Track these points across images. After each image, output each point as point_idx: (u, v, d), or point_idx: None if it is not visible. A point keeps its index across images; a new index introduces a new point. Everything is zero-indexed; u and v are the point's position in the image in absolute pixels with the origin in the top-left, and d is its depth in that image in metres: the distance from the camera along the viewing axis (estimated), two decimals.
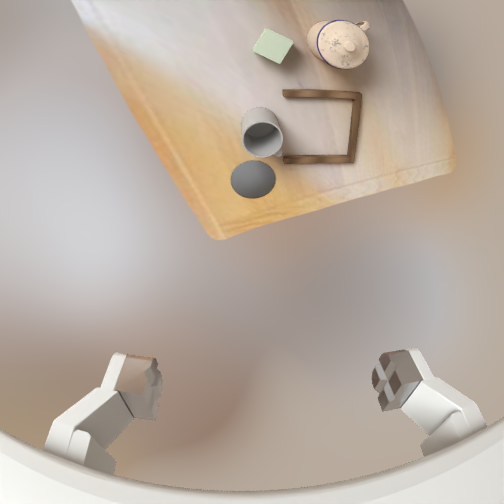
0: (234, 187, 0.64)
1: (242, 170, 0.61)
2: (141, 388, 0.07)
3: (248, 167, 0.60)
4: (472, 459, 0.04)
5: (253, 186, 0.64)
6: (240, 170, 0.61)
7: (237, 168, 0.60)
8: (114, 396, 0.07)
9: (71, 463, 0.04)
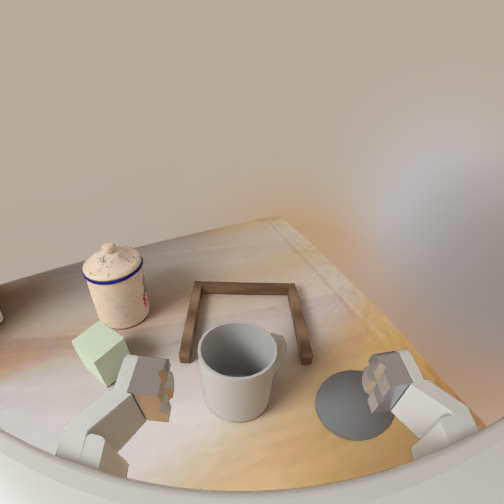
0: (379, 430, 0.24)
1: (339, 422, 0.25)
2: (155, 390, 0.07)
3: (333, 412, 0.27)
4: (472, 459, 0.04)
5: None
6: (341, 425, 0.25)
7: (337, 430, 0.24)
8: (127, 399, 0.07)
9: (71, 463, 0.04)
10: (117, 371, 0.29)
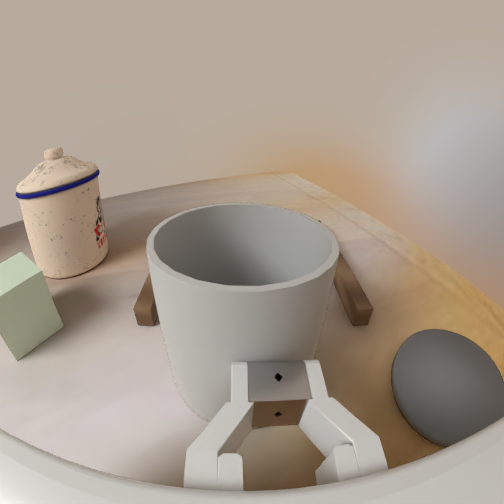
0: (502, 402, 0.11)
1: (460, 425, 0.10)
2: (277, 394, 0.07)
3: (443, 416, 0.11)
4: (472, 459, 0.04)
5: (467, 367, 0.14)
6: (465, 429, 0.10)
7: None
8: (250, 408, 0.07)
9: (71, 463, 0.04)
10: (32, 333, 0.14)
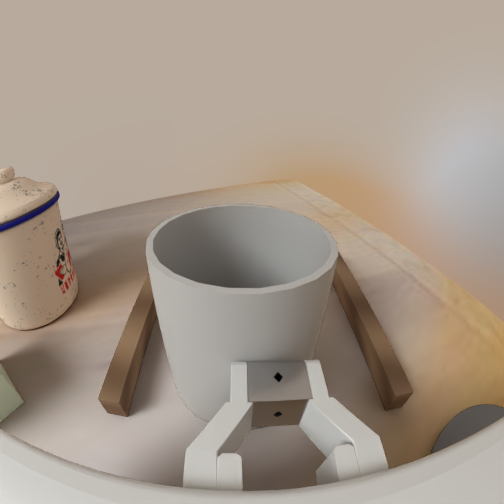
0: None
1: None
2: (277, 394, 0.07)
3: None
4: (472, 459, 0.04)
5: None
6: None
7: None
8: (249, 408, 0.07)
9: (71, 463, 0.04)
10: None
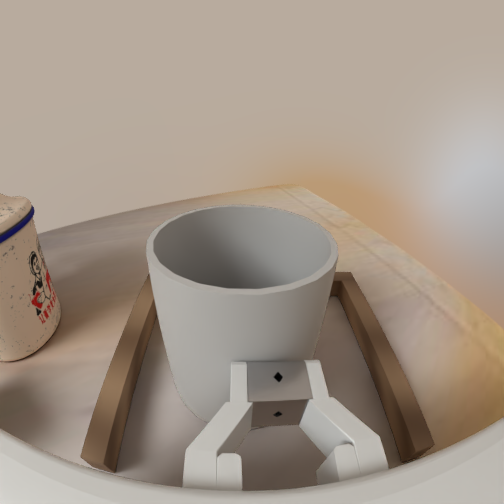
0: None
1: None
2: (277, 394, 0.07)
3: None
4: (472, 459, 0.04)
5: None
6: None
7: None
8: (249, 408, 0.07)
9: (71, 463, 0.04)
10: None
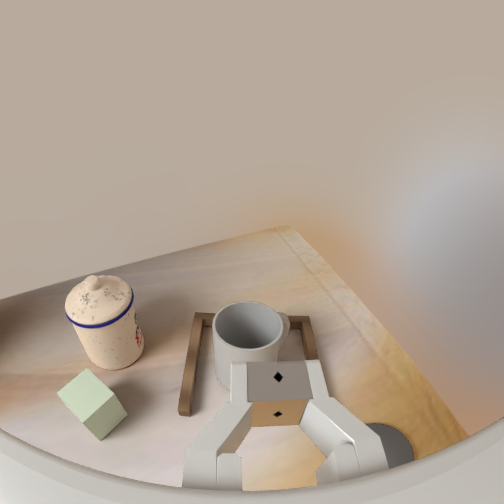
0: (406, 443, 0.22)
1: None
2: (277, 394, 0.07)
3: None
4: (472, 459, 0.04)
5: None
6: None
7: None
8: (249, 408, 0.07)
9: (71, 463, 0.04)
10: (109, 424, 0.23)
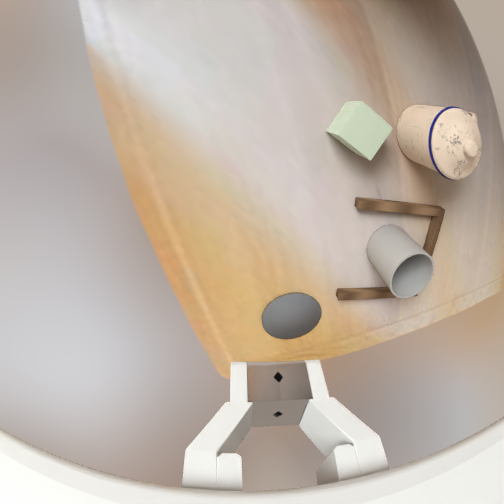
0: (305, 332, 0.48)
1: (279, 332, 0.47)
2: (277, 394, 0.07)
3: (274, 327, 0.46)
4: (472, 459, 0.04)
5: (302, 315, 0.46)
6: (280, 333, 0.47)
7: (277, 336, 0.48)
8: (249, 408, 0.07)
9: (71, 463, 0.04)
10: (342, 142, 0.32)
